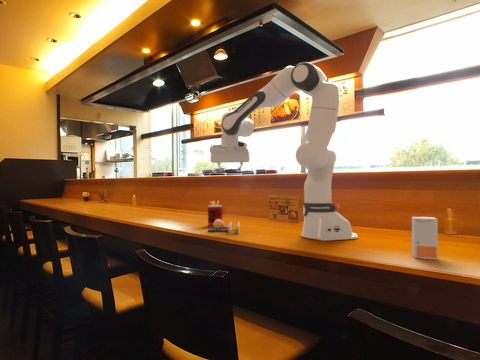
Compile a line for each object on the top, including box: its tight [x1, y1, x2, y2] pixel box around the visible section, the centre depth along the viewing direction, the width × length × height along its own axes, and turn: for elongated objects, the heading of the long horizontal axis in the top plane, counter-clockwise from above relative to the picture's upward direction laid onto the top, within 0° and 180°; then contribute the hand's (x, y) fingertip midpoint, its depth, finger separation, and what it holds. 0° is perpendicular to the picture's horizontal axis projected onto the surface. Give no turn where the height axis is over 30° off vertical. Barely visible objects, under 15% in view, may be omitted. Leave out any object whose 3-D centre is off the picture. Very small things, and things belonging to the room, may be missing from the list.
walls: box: [228, 221, 241, 235], centre depth 139 cm, size 5×16×4 cm, turn 179°
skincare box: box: [411, 216, 439, 261], centre depth 87 cm, size 6×4×12 cm
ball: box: [213, 219, 225, 230], centre depth 143 cm, size 5×5×5 cm
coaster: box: [207, 226, 229, 233], centre depth 143 cm, size 9×9×1 cm
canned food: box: [207, 204, 223, 228], centre depth 158 cm, size 8×8×11 cm
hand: (230, 171), depth 152 cm, fingers open, 8 cm apart
